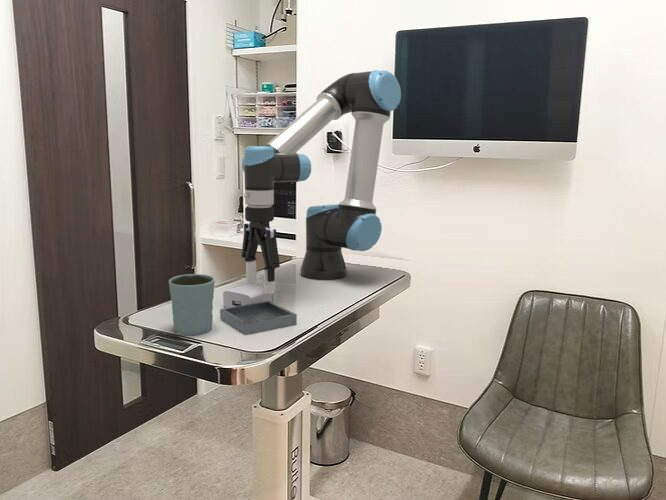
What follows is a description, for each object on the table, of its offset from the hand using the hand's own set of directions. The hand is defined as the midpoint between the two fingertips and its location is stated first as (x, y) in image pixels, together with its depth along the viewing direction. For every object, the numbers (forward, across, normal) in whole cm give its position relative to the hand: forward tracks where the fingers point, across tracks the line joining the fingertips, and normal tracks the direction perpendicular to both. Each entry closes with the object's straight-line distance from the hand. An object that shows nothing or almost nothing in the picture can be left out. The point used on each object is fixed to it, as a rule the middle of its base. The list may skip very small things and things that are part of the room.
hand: (260, 288), depth 149 cm
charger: (+4, 0, -1) cm, 5 cm away
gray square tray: (+4, +14, -8) cm, 17 cm away
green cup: (+4, +11, -23) cm, 26 cm away
